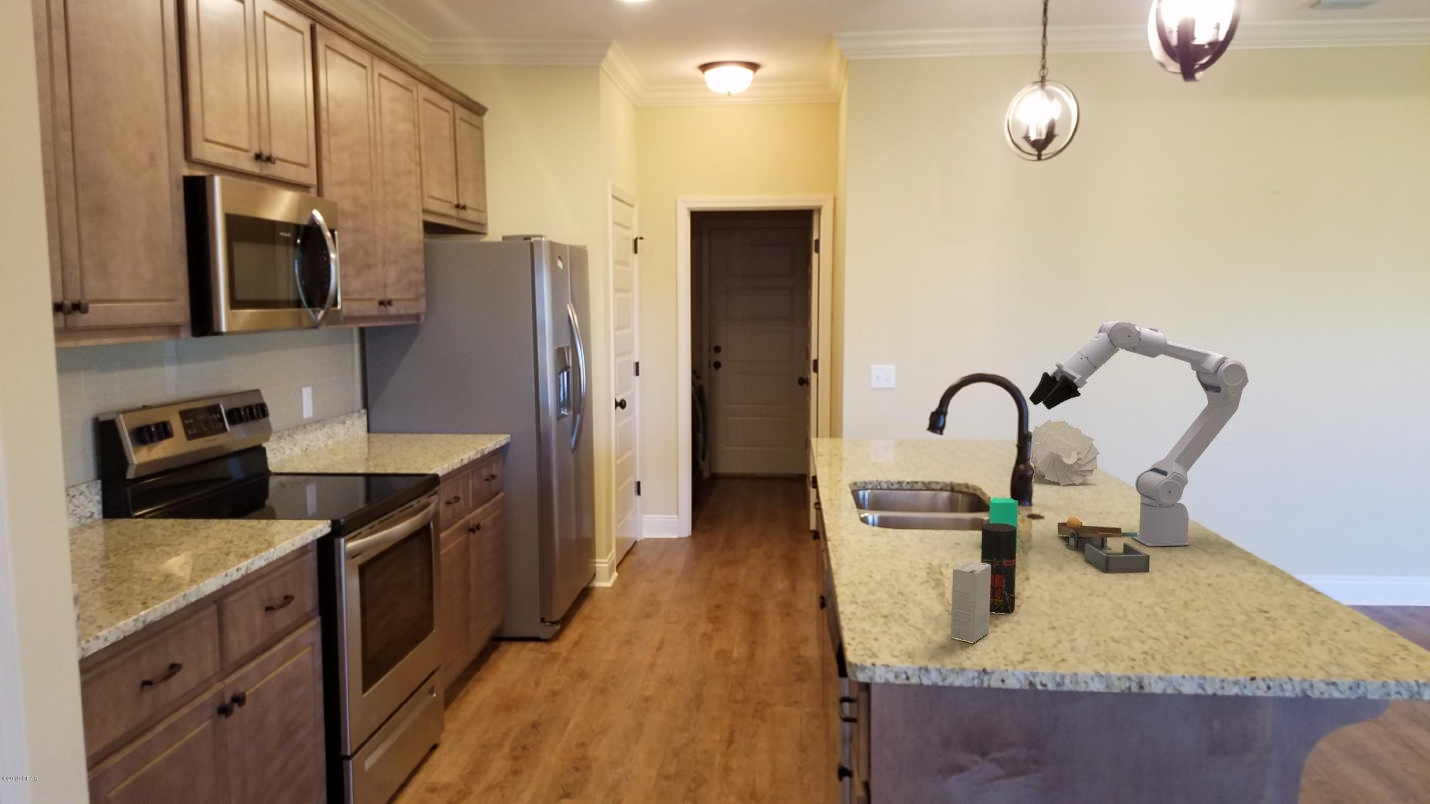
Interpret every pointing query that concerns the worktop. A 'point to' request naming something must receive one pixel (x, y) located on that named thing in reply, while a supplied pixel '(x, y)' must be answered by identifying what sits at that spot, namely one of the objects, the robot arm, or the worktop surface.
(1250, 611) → the worktop surface
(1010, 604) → the deodorant
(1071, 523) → the ball
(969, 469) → the worktop surface
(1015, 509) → the candle
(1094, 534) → the tilt board
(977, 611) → the skincare box
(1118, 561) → the tray
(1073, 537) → the pivot bracket
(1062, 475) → the spiral staircase
